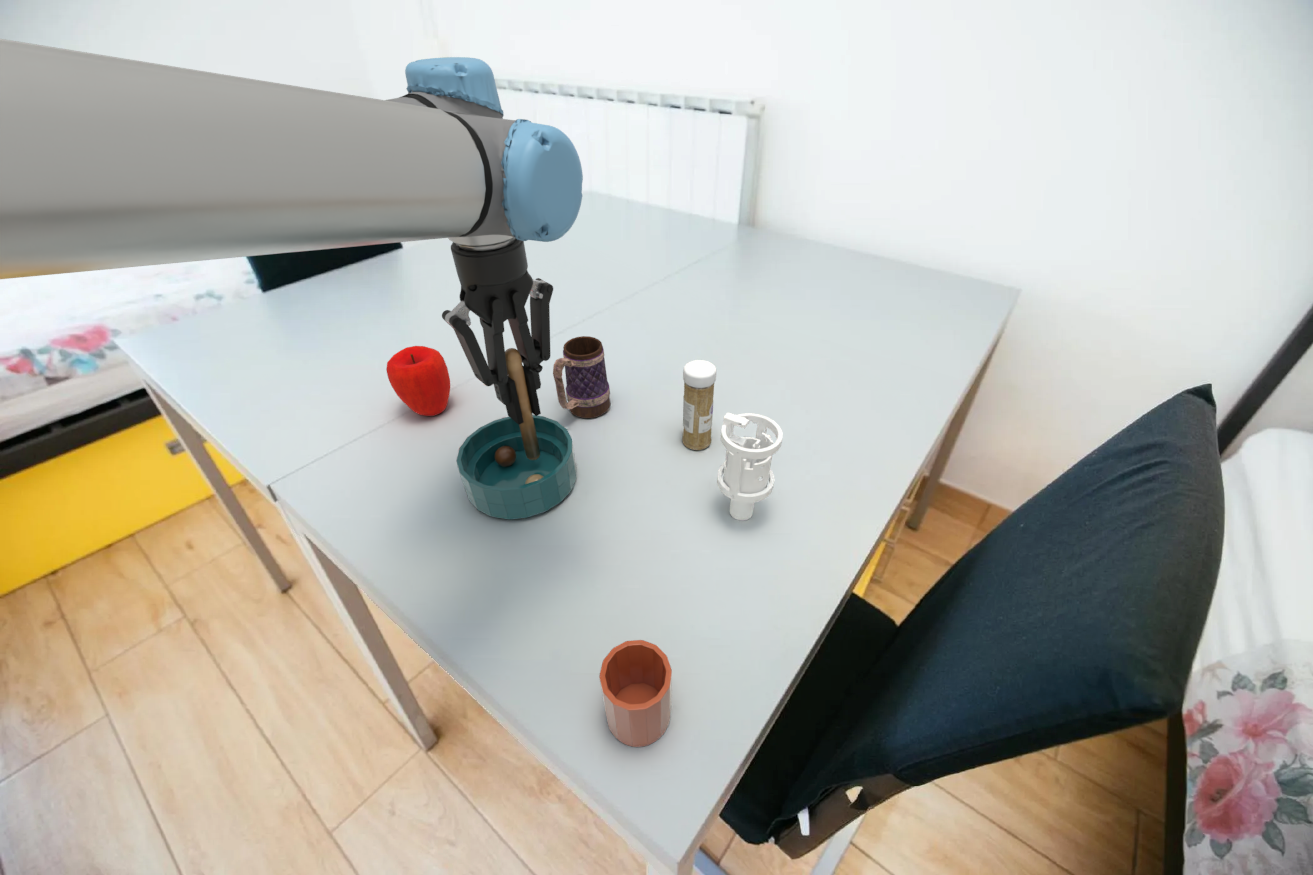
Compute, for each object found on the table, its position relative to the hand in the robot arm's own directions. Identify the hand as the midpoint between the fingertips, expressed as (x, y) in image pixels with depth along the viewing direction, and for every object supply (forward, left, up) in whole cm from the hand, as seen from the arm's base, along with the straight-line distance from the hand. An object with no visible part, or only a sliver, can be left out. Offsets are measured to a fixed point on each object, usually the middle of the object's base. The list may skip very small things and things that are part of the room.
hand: (524, 414), depth 72 cm
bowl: (-3, -1, -10) cm, 10 cm away
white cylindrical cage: (+15, -26, -10) cm, 32 cm away
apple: (-5, +24, -10) cm, 27 cm away
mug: (+13, +6, -10) cm, 18 cm away
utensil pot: (-12, -36, -10) cm, 39 cm away
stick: (0, 0, -8) cm, 8 cm away
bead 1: (-3, +3, -8) cm, 9 cm away
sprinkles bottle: (+21, -12, -10) cm, 26 cm away
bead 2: (-3, -5, -8) cm, 10 cm away
